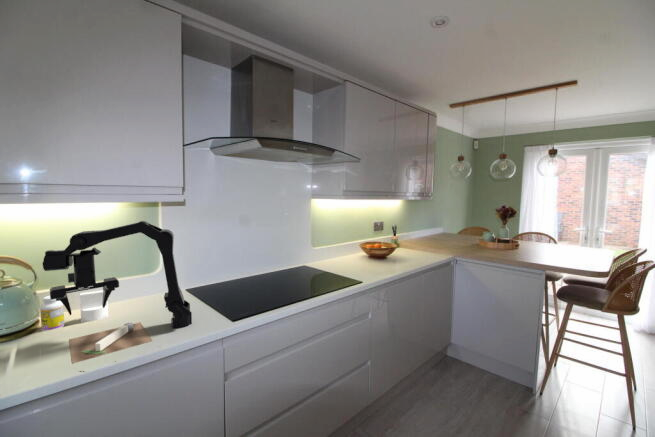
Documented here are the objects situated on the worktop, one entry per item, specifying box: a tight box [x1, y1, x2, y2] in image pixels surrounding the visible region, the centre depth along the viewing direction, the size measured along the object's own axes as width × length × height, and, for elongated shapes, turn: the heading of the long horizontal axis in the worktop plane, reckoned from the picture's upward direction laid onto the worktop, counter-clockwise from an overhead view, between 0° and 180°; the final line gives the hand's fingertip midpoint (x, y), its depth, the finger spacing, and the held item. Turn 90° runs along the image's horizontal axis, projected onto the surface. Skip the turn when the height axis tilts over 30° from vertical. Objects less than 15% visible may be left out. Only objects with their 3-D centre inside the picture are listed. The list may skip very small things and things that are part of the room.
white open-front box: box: [79, 289, 109, 324], centre depth 127 cm, size 9×9×12 cm
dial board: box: [68, 321, 153, 365], centre depth 108 cm, size 22×20×2 cm
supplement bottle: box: [39, 295, 65, 332], centre depth 118 cm, size 7×7×13 cm
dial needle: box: [95, 322, 134, 351], centre depth 108 cm, size 16×3×3 cm, turn 179°
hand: (87, 311), depth 108 cm, fingers open, 9 cm apart
